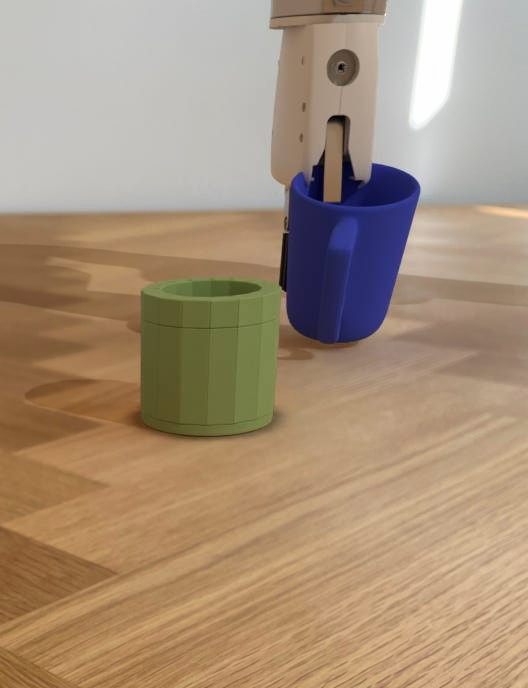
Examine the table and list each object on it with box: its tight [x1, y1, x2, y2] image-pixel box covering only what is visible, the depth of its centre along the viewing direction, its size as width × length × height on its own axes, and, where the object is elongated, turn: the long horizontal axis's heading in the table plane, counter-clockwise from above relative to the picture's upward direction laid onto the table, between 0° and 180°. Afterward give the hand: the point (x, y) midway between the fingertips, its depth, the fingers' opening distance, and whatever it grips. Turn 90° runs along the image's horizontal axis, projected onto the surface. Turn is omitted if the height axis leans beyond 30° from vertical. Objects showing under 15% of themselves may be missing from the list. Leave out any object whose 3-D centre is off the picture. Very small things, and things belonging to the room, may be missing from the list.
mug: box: [285, 161, 422, 345], centre depth 70 cm, size 8×12×10 cm
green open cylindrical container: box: [139, 276, 283, 437], centre depth 57 cm, size 7×7×7 cm
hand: (302, 290), depth 78 cm, fingers closed
